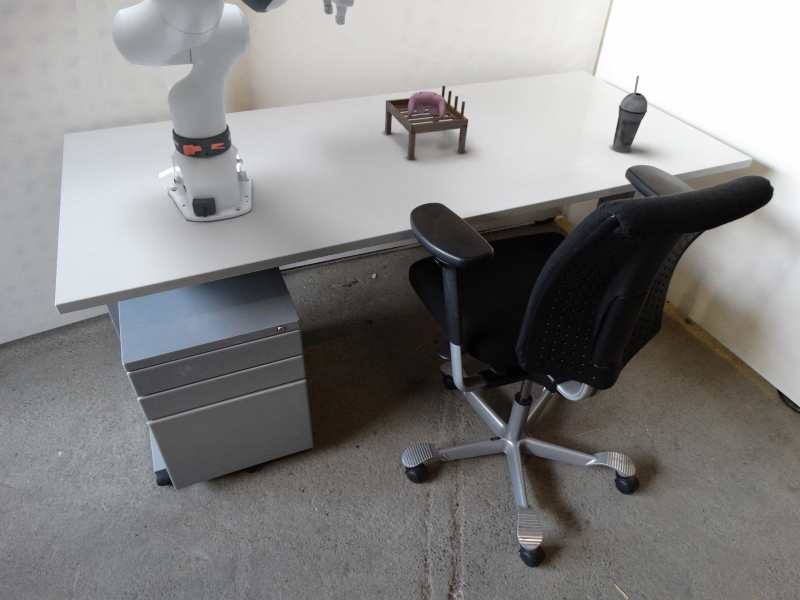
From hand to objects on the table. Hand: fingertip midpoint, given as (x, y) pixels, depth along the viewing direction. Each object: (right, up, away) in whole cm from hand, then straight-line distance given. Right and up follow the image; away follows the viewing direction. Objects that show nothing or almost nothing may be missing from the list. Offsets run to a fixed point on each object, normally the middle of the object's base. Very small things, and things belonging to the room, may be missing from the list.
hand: (334, 18), depth 138 cm
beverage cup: (+77, -24, +26) cm, 85 cm away
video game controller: (+22, -18, +18) cm, 33 cm away
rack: (+22, -23, +23) cm, 39 cm away
